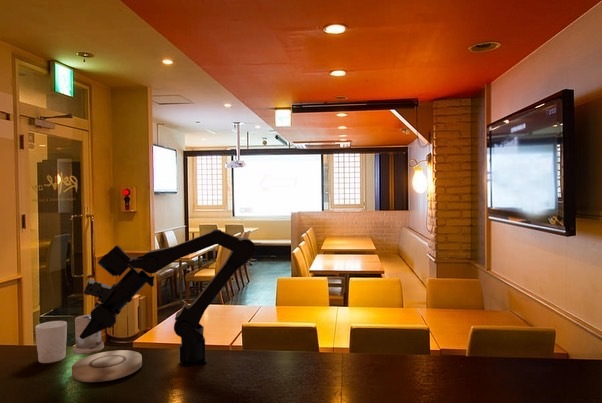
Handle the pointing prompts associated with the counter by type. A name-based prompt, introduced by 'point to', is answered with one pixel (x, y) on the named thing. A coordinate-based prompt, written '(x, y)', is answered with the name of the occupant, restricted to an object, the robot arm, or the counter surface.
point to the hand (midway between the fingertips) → (82, 334)
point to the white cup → (51, 341)
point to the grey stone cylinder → (88, 343)
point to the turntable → (106, 366)
